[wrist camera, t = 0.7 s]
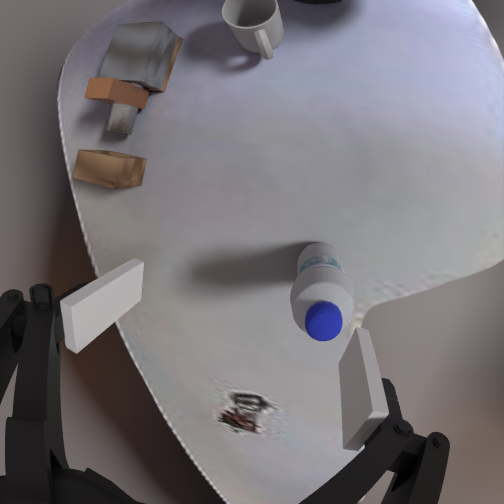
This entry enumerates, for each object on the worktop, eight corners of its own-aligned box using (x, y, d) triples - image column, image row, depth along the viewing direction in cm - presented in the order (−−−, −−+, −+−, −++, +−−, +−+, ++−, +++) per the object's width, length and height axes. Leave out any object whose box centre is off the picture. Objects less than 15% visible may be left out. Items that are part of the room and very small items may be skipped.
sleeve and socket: (139, 39, 37) (116, 24, 30) (182, 39, 36) (162, 21, 29) (102, 175, 45) (73, 177, 38) (141, 185, 44) (113, 189, 37)
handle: (145, 36, 36) (113, 16, 27) (168, 36, 36) (138, 12, 26) (115, 132, 42) (76, 127, 32) (137, 135, 41) (99, 130, 32)
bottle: (334, 286, 43) (347, 366, 24) (291, 275, 44) (276, 351, 25) (346, 244, 41) (374, 302, 22) (302, 233, 42) (296, 283, 23)
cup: (277, 13, 33) (269, -17, 24) (296, 62, 35) (292, 37, 27) (233, 25, 35) (216, -2, 26) (248, 74, 37) (233, 52, 28)
